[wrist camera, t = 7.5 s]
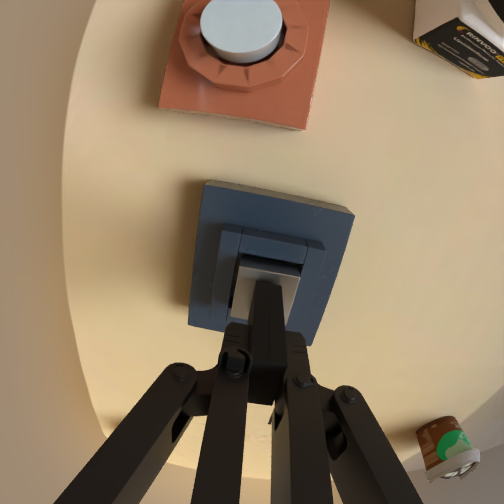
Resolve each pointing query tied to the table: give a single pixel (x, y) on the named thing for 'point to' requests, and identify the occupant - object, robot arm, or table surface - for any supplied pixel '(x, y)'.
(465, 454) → the food container
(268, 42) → the white round push button
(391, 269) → the table surface
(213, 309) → the push button base
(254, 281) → the pump square
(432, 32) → the medicine bottle
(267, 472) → the table surface
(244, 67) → the orange button base
